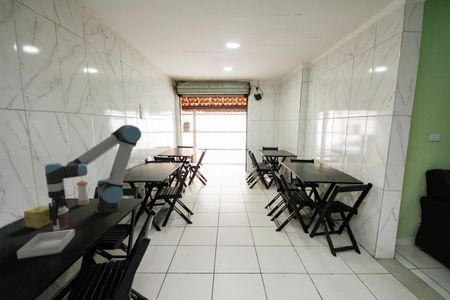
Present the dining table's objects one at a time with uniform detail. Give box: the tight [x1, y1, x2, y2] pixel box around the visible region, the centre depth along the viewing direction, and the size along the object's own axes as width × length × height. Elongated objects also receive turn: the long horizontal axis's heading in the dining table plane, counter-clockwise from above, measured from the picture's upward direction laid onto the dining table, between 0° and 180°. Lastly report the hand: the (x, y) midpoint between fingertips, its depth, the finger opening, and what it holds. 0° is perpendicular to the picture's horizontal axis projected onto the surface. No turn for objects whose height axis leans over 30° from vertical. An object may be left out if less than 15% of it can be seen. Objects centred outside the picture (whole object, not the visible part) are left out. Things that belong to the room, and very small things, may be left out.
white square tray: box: [16, 228, 76, 260], centre depth 103 cm, size 17×17×4 cm
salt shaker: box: [76, 179, 90, 206], centre depth 158 cm, size 7×7×19 cm
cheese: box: [23, 205, 52, 229], centre depth 126 cm, size 10×11×10 cm
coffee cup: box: [57, 206, 69, 231], centre depth 119 cm, size 9×9×12 cm
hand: (60, 225), depth 120 cm, fingers closed on coffee cup, 9 cm apart
